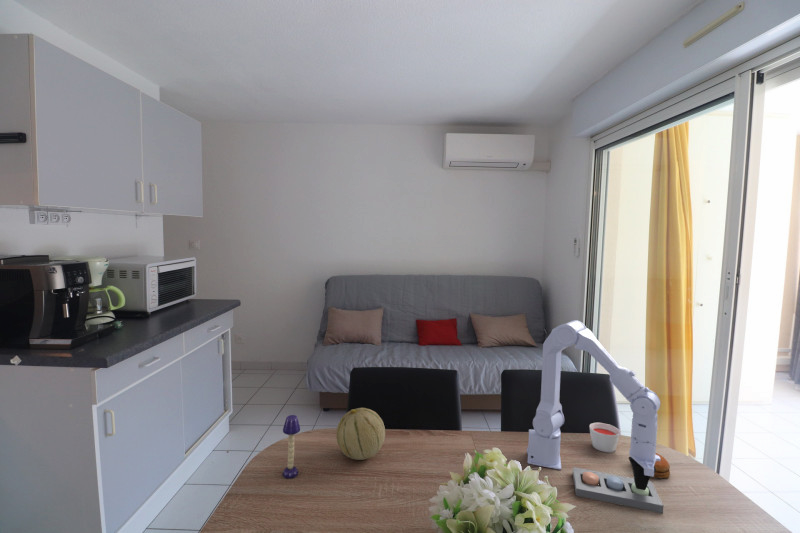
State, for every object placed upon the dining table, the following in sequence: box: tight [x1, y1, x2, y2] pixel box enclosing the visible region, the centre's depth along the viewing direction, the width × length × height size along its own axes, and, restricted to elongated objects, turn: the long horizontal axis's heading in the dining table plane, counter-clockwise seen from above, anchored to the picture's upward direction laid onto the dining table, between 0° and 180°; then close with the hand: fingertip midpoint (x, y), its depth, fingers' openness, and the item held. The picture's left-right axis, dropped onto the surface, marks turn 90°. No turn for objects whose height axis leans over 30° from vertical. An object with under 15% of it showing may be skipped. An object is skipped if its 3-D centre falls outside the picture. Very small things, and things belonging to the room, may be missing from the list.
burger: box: [650, 452, 671, 479], centre depth 122 cm, size 10×9×5 cm
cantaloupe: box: [335, 407, 386, 461], centre depth 125 cm, size 15×15×15 cm
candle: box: [589, 422, 621, 453], centre depth 135 cm, size 9×9×6 cm
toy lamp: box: [282, 414, 301, 479], centre depth 114 cm, size 5×5×17 cm
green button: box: [631, 483, 649, 496], centre depth 108 cm, size 4×4×2 cm
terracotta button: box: [581, 472, 599, 486], centre depth 112 cm, size 4×4×2 cm
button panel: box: [572, 466, 664, 514], centre depth 110 cm, size 20×11×2 cm, turn 72°
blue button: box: [606, 476, 624, 491], centre depth 110 cm, size 4×4×2 cm
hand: (640, 488), depth 108 cm, fingers closed, pressing on green button
